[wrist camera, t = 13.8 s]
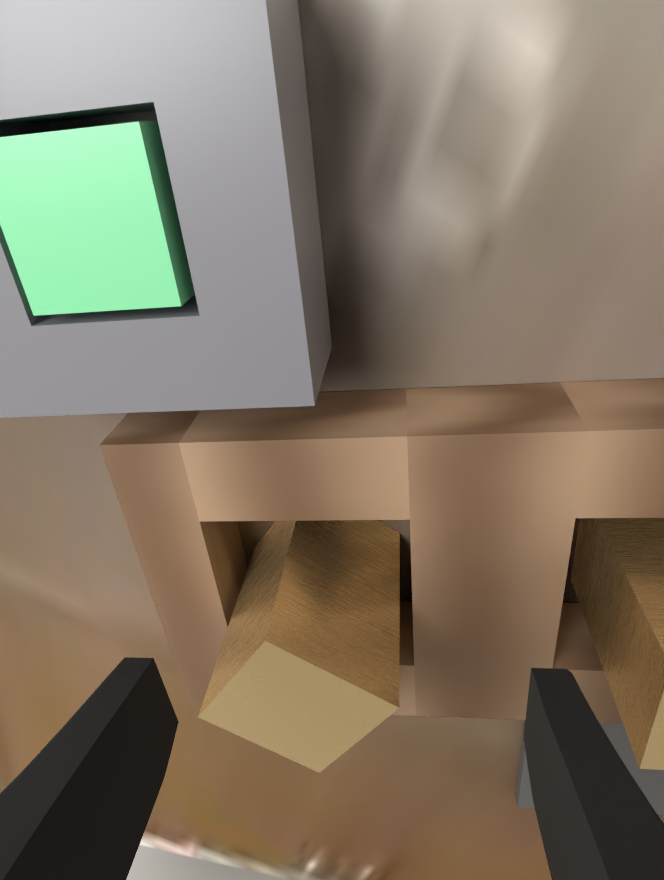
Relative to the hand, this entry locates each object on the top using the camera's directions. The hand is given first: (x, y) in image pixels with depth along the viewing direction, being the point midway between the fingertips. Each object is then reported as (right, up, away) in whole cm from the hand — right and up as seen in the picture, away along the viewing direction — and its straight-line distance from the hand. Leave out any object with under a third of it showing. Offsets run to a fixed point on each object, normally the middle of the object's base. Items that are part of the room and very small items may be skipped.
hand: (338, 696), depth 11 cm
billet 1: (0, +1, +10) cm, 10 cm away
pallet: (+5, +1, +9) cm, 11 cm away
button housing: (-5, +12, +5) cm, 13 cm away
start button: (-5, +11, +4) cm, 13 cm away
